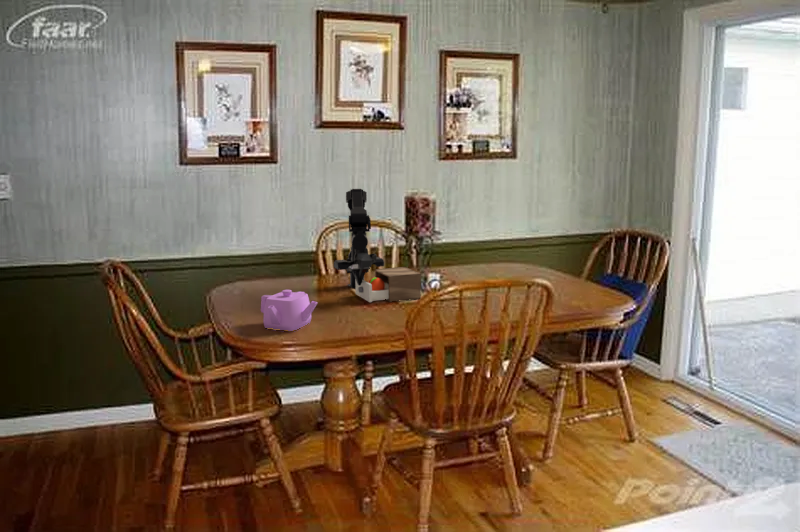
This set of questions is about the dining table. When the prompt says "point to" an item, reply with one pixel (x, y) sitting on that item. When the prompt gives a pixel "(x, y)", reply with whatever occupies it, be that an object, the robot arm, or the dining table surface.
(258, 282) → the dining table surface
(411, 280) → the small brown cabinet
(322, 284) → the dining table surface
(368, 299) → the drawer
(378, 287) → the clementine
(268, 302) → the teakettle
